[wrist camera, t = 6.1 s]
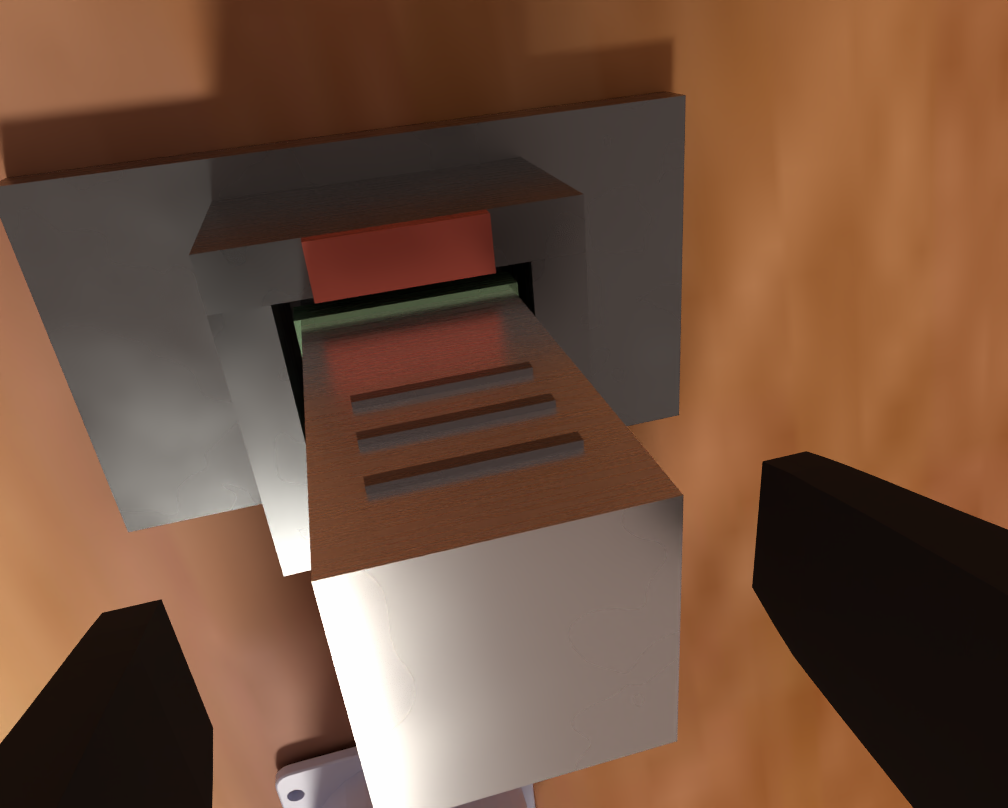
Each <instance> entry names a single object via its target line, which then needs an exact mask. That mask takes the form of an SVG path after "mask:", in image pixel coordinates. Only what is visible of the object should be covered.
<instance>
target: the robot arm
mask: <svg viewBox="0 0 1008 808" xmlns="http://www.w3.org/2000/svg"><path fill="white" fill-rule="evenodd" d="M752 588H753V589H754V591H755V593H756V594H757V596H758V598H759V600H760V601H761V603H762V605H763V607H764V608H765V610H766V612H767V613H768V615H769V617H770V619H771V620H772V622H773V624H774V626H775V627H776V629H777V630H778V632H779V634H780V635H781V637H782V638H783V640H784V641H785V643H786V645H787V646H788V648H789V649H790V651H791V653H792V654H793V656H794V657H795V659H796V660H797V661H798V662H799V664H800V665H801V666H802V668H803V669H804V670H805V672H806V673H807V674H808V676H809V677H810V678H811V679H812V681H813V682H814V683H815V684H816V686H817V687H818V688H819V690H820V691H821V692H822V693H823V695H824V696H825V697H826V699H827V700H828V701H829V702H830V704H831V705H832V706H833V707H834V709H835V710H836V711H837V713H838V714H839V715H840V716H841V718H842V719H843V720H844V721H845V723H846V724H847V725H848V726H849V728H850V729H851V730H852V731H853V733H854V734H855V735H856V736H857V738H858V739H859V740H860V741H861V743H862V744H863V745H864V746H865V748H866V749H867V750H868V751H869V753H870V754H871V755H872V756H873V758H874V759H875V760H876V761H877V763H878V764H879V765H880V767H881V768H882V769H883V770H884V772H885V773H886V774H887V775H888V777H889V778H890V779H891V780H892V782H893V783H894V784H895V785H896V787H897V788H898V789H899V790H900V792H901V793H902V794H903V795H904V797H905V798H906V799H907V800H908V802H909V803H910V804H911V805H912V807H913V808H1008V530H1007V529H1005V528H1002V527H1000V526H997V525H995V524H992V523H989V522H987V521H984V520H982V519H979V518H977V517H974V516H972V515H969V514H967V513H964V512H962V511H959V510H957V509H954V508H952V507H949V506H947V505H944V504H942V503H939V502H937V501H934V500H932V499H929V498H927V497H925V496H922V495H920V494H917V493H915V492H912V491H910V490H907V489H905V488H902V487H900V486H897V485H895V484H893V483H890V482H888V481H885V480H883V479H880V478H878V477H875V476H873V475H870V474H868V473H865V472H863V471H860V470H857V469H855V468H852V467H850V466H847V465H844V464H842V463H839V462H836V461H834V460H831V459H828V458H825V457H822V456H819V455H816V454H813V453H810V452H807V451H806V452H802V453H797V454H793V455H789V456H784V457H780V458H776V459H771V460H767V461H763V464H762V476H761V488H760V500H759V512H758V524H757V536H756V548H755V560H754V572H753V584H752ZM212 790H213V727H212V724H211V722H210V719H209V717H208V714H207V712H206V709H205V707H204V704H203V702H202V699H201V697H200V694H199V692H198V689H197V687H196V684H195V682H194V679H193V677H192V674H191V672H190V669H189V667H188V664H187V662H186V659H185V657H184V654H183V652H182V649H181V647H180V644H179V642H178V640H177V637H176V635H175V632H174V630H173V627H172V625H171V622H170V620H169V617H168V615H167V612H166V610H165V607H164V605H163V602H162V600H157V601H152V602H148V603H143V604H139V605H135V606H130V607H126V608H122V609H117V610H113V611H109V612H104V613H102V614H101V615H100V616H99V618H98V619H97V620H96V621H95V622H94V624H93V625H92V626H91V627H90V629H89V630H88V631H87V632H86V634H85V635H84V636H83V638H82V639H81V640H80V642H79V643H78V644H77V645H76V647H75V648H74V649H73V651H72V652H71V653H70V655H69V656H68V657H67V658H66V660H65V661H64V662H63V664H62V665H61V666H60V668H59V669H58V670H57V672H56V673H55V674H54V675H53V677H52V678H51V679H50V681H49V682H48V683H47V685H46V686H45V687H44V689H43V690H42V691H41V692H40V694H39V695H38V696H37V698H36V699H35V700H34V702H33V703H32V704H31V705H30V707H29V708H28V709H27V711H26V712H25V713H24V714H23V716H22V717H21V718H20V720H19V721H18V722H17V723H16V725H15V726H14V727H13V728H12V730H11V731H10V732H9V734H8V735H7V736H6V737H5V739H4V740H3V741H2V742H1V744H0V808H212ZM276 790H277V793H278V796H279V799H280V801H281V804H282V807H283V808H373V804H372V800H371V797H370V793H369V790H368V786H367V782H366V779H365V775H364V771H363V768H362V764H361V760H360V757H359V753H358V749H357V746H355V747H352V748H348V749H344V750H341V751H337V752H334V753H330V754H326V755H323V756H319V757H315V758H312V759H308V760H304V761H301V762H297V763H293V764H290V765H287V766H285V767H283V768H281V769H280V770H279V771H278V772H277V774H276ZM452 808H535V800H534V791H533V784H530V785H526V786H523V787H519V788H516V789H513V790H509V791H506V792H502V793H499V794H496V795H492V796H489V797H485V798H482V799H479V800H475V801H472V802H468V803H465V804H462V805H458V806H455V807H452Z"/></svg>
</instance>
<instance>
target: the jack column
mask: <svg viewBox="0 0 1008 808" xmlns="http://www.w3.org/2000/svg"><path fill="white" fill-rule="evenodd" d="M293 315H294V325H295V329H296V333H297V338H298V342H299V346H300V350H301V354H302V360H303V385H304V409H305V434H306V459H307V484H308V508H309V533H310V558H311V582H312V586H313V589H314V593H315V597H316V600H317V604H318V607H319V611H320V615H321V618H322V622H323V626H324V629H325V633H326V637H327V640H328V644H329V648H330V651H331V655H332V658H333V662H334V666H335V669H336V673H337V677H338V680H339V684H340V688H341V691H342V695H343V699H344V702H345V706H346V709H347V713H348V717H349V720H350V724H351V728H352V731H353V735H354V739H355V742H356V746H357V749H358V753H359V757H360V760H361V764H362V768H363V771H364V775H365V779H366V782H367V786H368V790H369V793H370V797H371V800H372V804H373V808H452V807H455V806H458V805H462V804H465V803H468V802H472V801H475V800H479V799H482V798H485V797H489V796H492V795H496V794H499V793H502V792H506V791H509V790H513V789H516V788H519V787H523V786H526V785H530V784H533V783H536V782H540V781H543V780H547V779H550V778H553V777H557V776H560V775H563V774H567V773H570V772H574V771H577V770H580V769H584V768H587V767H591V766H594V765H597V764H601V763H604V762H608V761H611V760H614V759H618V758H621V757H625V756H628V755H631V754H635V753H638V752H642V751H645V750H648V749H652V748H655V747H659V746H662V745H665V744H669V743H672V742H675V741H677V726H678V687H679V648H680V609H681V570H682V531H683V494H682V493H681V492H680V490H679V489H678V488H677V487H676V486H675V484H674V483H673V482H672V481H671V480H670V478H669V477H668V476H667V475H666V474H665V472H664V471H663V470H662V469H661V468H660V466H659V465H658V464H657V463H656V461H655V460H654V459H653V458H652V457H651V455H650V454H649V453H648V452H647V451H646V449H645V448H644V447H643V446H642V445H641V443H640V442H639V441H638V440H637V439H636V437H635V436H634V435H633V434H632V433H631V431H630V430H629V429H628V428H627V427H626V425H625V424H624V423H623V422H622V421H621V419H620V418H619V417H618V416H617V415H616V413H615V412H614V411H613V410H612V409H611V407H610V406H609V405H608V404H607V402H606V401H605V400H604V399H603V398H602V396H601V395H600V394H599V393H598V392H597V390H596V389H595V388H594V387H593V386H592V384H591V383H590V382H589V381H588V380H587V378H586V377H585V376H584V375H583V374H582V372H581V371H580V370H579V369H578V368H577V366H576V365H575V364H574V363H573V362H572V360H571V359H570V358H569V357H568V356H567V354H566V353H565V352H564V351H563V350H562V348H561V347H560V346H559V345H558V343H557V342H556V341H555V340H554V339H553V337H552V336H551V335H550V334H549V333H548V331H547V330H546V329H545V328H544V327H543V325H542V324H541V323H540V322H539V321H538V319H537V318H536V317H535V316H534V315H533V313H532V312H531V311H530V310H529V309H528V307H527V306H526V305H525V304H524V303H523V301H522V300H521V299H520V298H519V295H518V284H517V282H516V280H515V279H514V278H513V277H512V276H511V275H510V273H509V272H508V271H504V272H498V271H497V270H496V273H493V274H487V275H481V276H475V277H469V278H463V279H457V280H451V281H446V282H440V283H434V284H428V285H422V286H416V287H410V288H404V289H398V290H392V291H386V292H381V293H375V294H369V295H363V296H357V297H351V298H345V299H339V300H333V301H327V302H322V303H316V304H315V302H314V298H309V299H304V300H300V306H297V307H293Z"/></svg>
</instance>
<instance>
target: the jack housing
mask: <svg viewBox="0 0 1008 808" xmlns="http://www.w3.org/2000/svg"><path fill="white" fill-rule="evenodd" d="M684 143H685V95H681V94H676V93H671V92H659V93H651V94H643V95H636V96H628V97H620V98H613V99H605V100H597V101H590V102H582V103H575V104H567V105H559V106H552V107H544V108H536V109H529V110H521V111H514V112H506V113H498V114H491V115H483V116H475V117H468V118H460V119H453V120H445V121H437V122H430V123H422V124H414V125H407V126H399V127H392V128H384V129H376V130H369V131H361V132H353V133H346V134H338V135H330V136H323V137H315V138H308V139H300V140H292V141H285V142H277V143H269V144H262V145H254V146H247V147H239V148H231V149H224V150H216V151H208V152H201V153H193V154H186V155H178V156H170V157H163V158H155V159H147V160H140V161H132V162H124V163H117V164H109V165H102V166H94V167H86V168H79V169H71V170H63V171H56V172H48V173H41V174H33V175H25V176H18V177H10V178H5V179H3V180H1V181H0V218H1V221H2V223H3V226H4V228H5V230H6V233H7V235H8V238H9V240H10V243H11V245H12V248H13V250H14V253H15V255H16V258H17V260H18V262H19V265H20V267H21V270H22V272H23V275H24V277H25V280H26V282H27V285H28V287H29V289H30V292H31V294H32V297H33V299H34V302H35V304H36V307H37V309H38V312H39V314H40V316H41V319H42V321H43V324H44V326H45V329H46V331H47V334H48V336H49V339H50V341H51V344H52V346H53V348H54V351H55V353H56V356H57V358H58V361H59V363H60V366H61V368H62V371H63V373H64V375H65V378H66V380H67V383H68V385H69V388H70V390H71V393H72V395H73V398H74V400H75V403H76V405H77V407H78V410H79V412H80V415H81V417H82V420H83V422H84V425H85V427H86V430H87V432H88V434H89V437H90V439H91V442H92V444H93V447H94V449H95V452H96V454H97V457H98V459H99V461H100V464H101V466H102V469H103V471H104V474H105V476H106V479H107V481H108V484H109V486H110V489H111V491H112V493H113V496H114V498H115V501H116V503H117V506H118V508H119V511H120V513H121V516H122V518H123V520H124V523H125V525H126V528H127V530H128V532H132V531H136V530H141V529H146V528H150V527H155V526H160V525H165V524H169V523H174V522H179V521H183V520H188V519H193V518H197V517H202V516H207V515H212V514H216V513H221V512H226V511H230V510H235V509H240V508H244V507H249V506H254V505H259V504H263V507H264V511H265V514H266V518H267V521H268V524H269V528H270V531H271V535H272V538H273V541H274V545H275V548H276V551H277V555H278V558H279V562H280V565H281V568H282V572H283V575H284V576H287V575H292V574H296V573H300V572H305V571H309V570H311V558H310V533H309V508H308V484H307V459H306V434H305V409H304V385H303V360H302V354H301V350H300V346H299V342H298V338H297V333H296V329H295V325H294V315H293V307H297V306H300V300H304V299H309V298H314V302H315V304H316V303H322V302H327V301H333V300H339V299H345V298H351V297H357V296H363V295H369V294H375V293H381V292H386V291H392V290H398V289H404V288H410V287H416V286H422V285H428V284H434V283H440V282H446V281H451V280H457V279H463V278H469V277H475V276H481V275H487V274H493V273H496V270H497V271H498V272H504V271H508V272H509V273H510V275H511V276H512V277H513V278H514V279H515V280H516V282H517V284H518V295H519V298H520V299H521V300H522V301H523V303H524V304H525V305H526V306H527V307H528V309H529V310H530V311H531V312H532V313H533V315H534V316H535V317H536V318H537V319H538V321H539V322H540V323H541V324H542V325H543V327H544V328H545V329H546V330H547V331H548V333H549V334H550V335H551V336H552V337H553V339H554V340H555V341H556V342H557V343H558V345H559V346H560V347H561V348H562V350H563V351H564V352H565V353H566V354H567V356H568V357H569V358H570V359H571V360H572V362H573V363H574V364H575V365H576V366H577V368H578V369H579V370H580V371H581V372H582V374H583V375H584V376H585V377H586V378H587V380H588V381H589V382H590V383H591V384H592V386H593V387H594V388H595V389H596V390H597V392H598V393H599V394H600V395H601V396H602V398H603V399H604V400H605V401H606V402H607V404H608V405H609V406H610V407H611V409H612V410H613V411H614V412H615V413H616V415H617V416H618V417H619V418H620V419H621V421H622V422H623V423H624V424H625V425H626V426H630V425H634V424H639V423H644V422H649V421H653V420H658V419H663V418H667V417H672V416H677V415H679V383H680V335H681V287H682V239H683V191H684Z"/></svg>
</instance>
